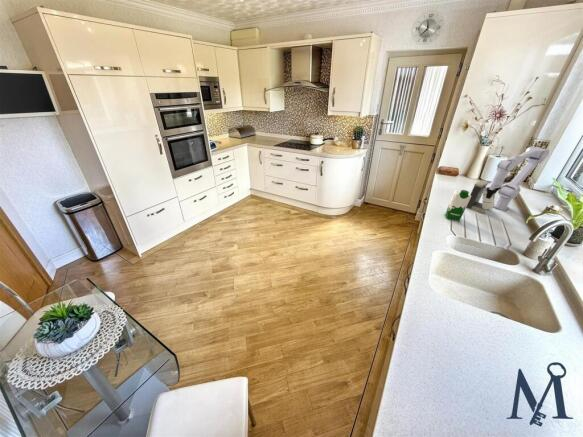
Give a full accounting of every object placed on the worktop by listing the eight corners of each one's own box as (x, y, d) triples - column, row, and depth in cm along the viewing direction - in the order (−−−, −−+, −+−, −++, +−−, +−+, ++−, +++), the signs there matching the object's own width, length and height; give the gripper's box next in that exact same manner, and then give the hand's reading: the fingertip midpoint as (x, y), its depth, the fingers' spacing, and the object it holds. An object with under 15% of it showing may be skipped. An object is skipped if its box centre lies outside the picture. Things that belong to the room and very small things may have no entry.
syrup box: (492, 209, 160) (494, 188, 156) (481, 208, 165) (483, 188, 161) (493, 207, 164) (495, 187, 160) (483, 206, 168) (484, 186, 164)
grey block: (470, 202, 177) (481, 180, 168) (489, 208, 169) (502, 185, 160) (463, 207, 170) (474, 183, 161) (483, 213, 162) (496, 189, 152)
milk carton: (445, 219, 153) (457, 191, 143) (443, 213, 160) (455, 186, 150) (460, 222, 150) (474, 194, 140) (458, 216, 157) (471, 188, 147)
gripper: (502, 182, 148) (492, 201, 155) (509, 178, 156) (499, 196, 163) (489, 179, 153) (480, 197, 160) (496, 175, 161) (487, 193, 168)
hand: (489, 197), depth 162 cm, fingers closed on syrup box, 6 cm apart
